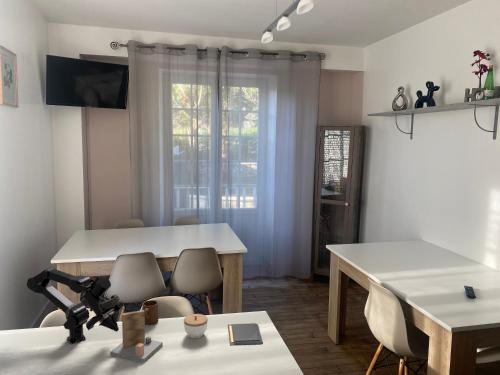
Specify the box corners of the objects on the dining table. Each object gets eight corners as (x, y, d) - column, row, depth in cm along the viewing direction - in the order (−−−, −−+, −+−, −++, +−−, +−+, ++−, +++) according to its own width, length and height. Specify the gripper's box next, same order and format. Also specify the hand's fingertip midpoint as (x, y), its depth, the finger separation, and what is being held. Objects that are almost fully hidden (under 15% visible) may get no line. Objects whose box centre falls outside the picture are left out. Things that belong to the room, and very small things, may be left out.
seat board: (110, 355, 159) (110, 342, 158) (131, 339, 172) (130, 327, 172) (143, 362, 154) (143, 349, 153) (162, 345, 167) (162, 333, 167)
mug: (152, 329, 181) (152, 310, 180) (137, 329, 182) (136, 309, 181) (160, 318, 193) (160, 300, 192) (145, 317, 194) (145, 299, 193)
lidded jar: (211, 336, 175) (211, 317, 174) (190, 343, 169) (190, 322, 168) (200, 327, 184) (200, 308, 183) (180, 333, 178) (179, 313, 177)
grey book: (263, 342, 169) (228, 342, 168) (263, 346, 169) (228, 347, 168) (258, 321, 189) (227, 321, 188) (258, 325, 189) (227, 325, 188)
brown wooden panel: (144, 341, 167) (143, 309, 165) (144, 342, 165) (144, 311, 164) (122, 345, 163) (121, 313, 161) (123, 347, 161) (122, 315, 160)
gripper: (90, 299, 155) (114, 329, 153) (120, 283, 173) (142, 311, 170) (75, 315, 158) (98, 345, 156) (106, 298, 176) (127, 325, 174)
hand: (117, 330), depth 164 cm, fingers closed
